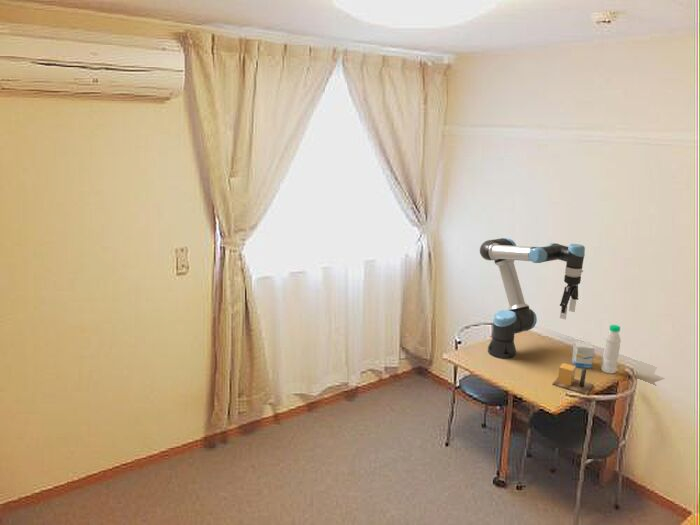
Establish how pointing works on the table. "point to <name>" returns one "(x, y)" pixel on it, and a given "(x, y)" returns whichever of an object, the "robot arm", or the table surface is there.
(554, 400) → the table surface
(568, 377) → the orange rectangular block
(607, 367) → the water bottle
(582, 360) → the ink box
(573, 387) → the pigtail board
